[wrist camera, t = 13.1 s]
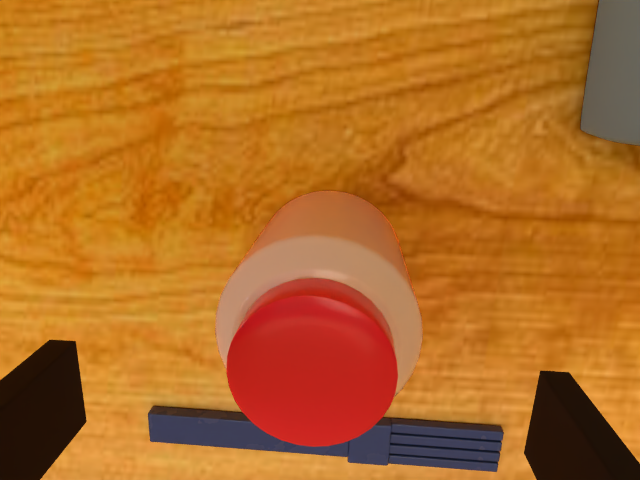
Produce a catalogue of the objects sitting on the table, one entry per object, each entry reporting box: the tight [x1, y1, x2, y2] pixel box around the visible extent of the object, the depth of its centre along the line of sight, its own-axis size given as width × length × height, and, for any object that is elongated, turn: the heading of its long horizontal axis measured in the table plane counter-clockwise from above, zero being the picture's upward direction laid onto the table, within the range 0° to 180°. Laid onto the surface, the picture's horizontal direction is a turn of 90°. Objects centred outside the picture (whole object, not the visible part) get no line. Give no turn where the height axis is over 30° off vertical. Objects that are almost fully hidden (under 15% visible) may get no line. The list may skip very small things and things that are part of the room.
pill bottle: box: [215, 190, 423, 447], centre depth 20 cm, size 8×8×11 cm
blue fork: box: [148, 406, 504, 472], centre depth 28 cm, size 21×3×1 cm, turn 88°
